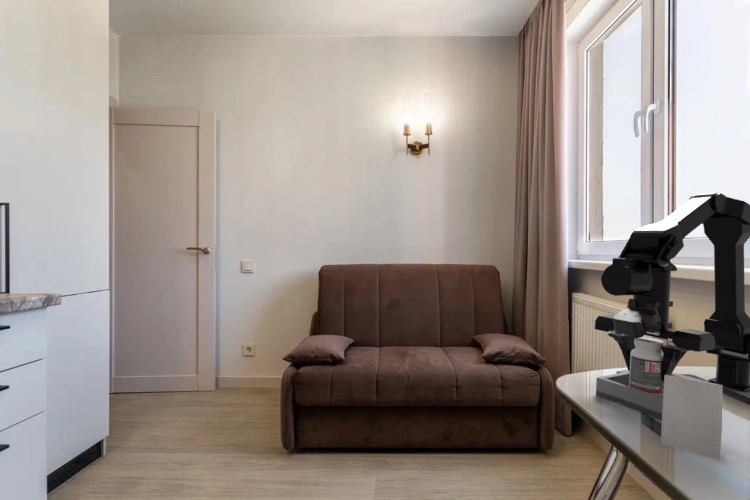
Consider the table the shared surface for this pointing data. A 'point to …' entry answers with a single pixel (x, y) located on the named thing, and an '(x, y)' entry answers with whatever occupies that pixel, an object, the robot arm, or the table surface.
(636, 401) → the parts tray
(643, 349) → the pill bottle
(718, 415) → the upright grey panel
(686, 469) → the table surface
